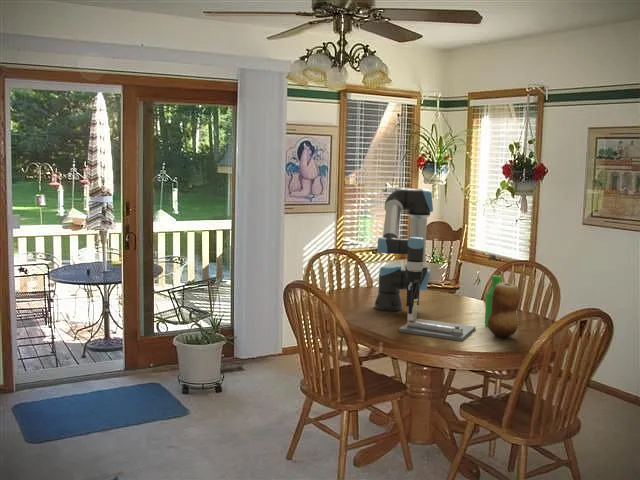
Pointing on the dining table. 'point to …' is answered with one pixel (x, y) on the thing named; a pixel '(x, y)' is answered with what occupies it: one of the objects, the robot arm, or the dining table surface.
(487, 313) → the bottle
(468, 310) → the dining table surface
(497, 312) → the butternut squash
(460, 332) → the lever
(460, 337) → the lever board
